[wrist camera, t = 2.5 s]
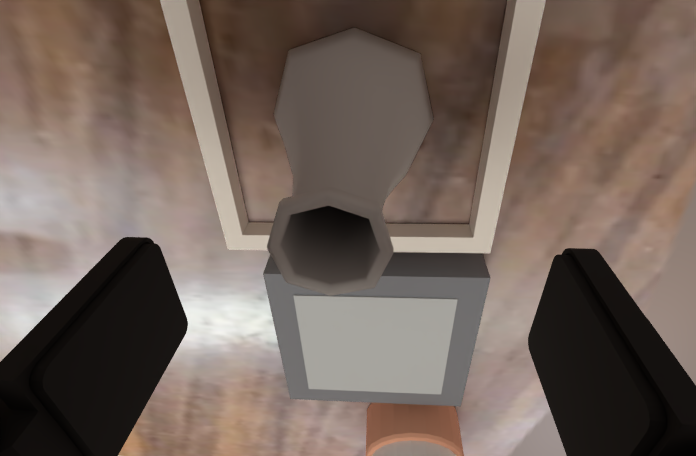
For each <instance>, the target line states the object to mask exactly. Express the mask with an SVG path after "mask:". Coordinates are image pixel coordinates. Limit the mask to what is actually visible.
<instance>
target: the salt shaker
mask: <svg viewBox="0 0 696 456" xmlns="http://www.w3.org/2000/svg"><path fill="white" fill-rule="evenodd" d="M366 456H464V454H463V447H462V441H461V435H460V429H459V423H458V417H457V413H456V410H455V407H454V406H440V405H417V404H395V403H371V404H370V406H369V407H368V409H367V434H366Z"/></svg>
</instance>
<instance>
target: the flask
mask: <svg viewBox="0 0 696 456" xmlns="http://www.w3.org/2000/svg"><path fill="white" fill-rule="evenodd" d="M274 117H275V120H276V123H277V126H278V129H279V131H280V134H281V137H282V139H283V142H284V145H285V149H286V152H287V156H288V160H289V163H290V167H291V170H292V174H293V195H292V197H288V198H284V199H282V200H281V201H280V202H279V205H278V209H277V212H276V216H275V219H274V223H273V226H272V230H271V233H270V237H269V240H268V244H267V249H268V250H269V252H270V254H271V256H272V258H273V260H274V261H275V263H276V265H277V267H278V269H279V271H280V272H281V274H282V276H283V278H284V280H285V282H286V283H289V284H292V285H296V286H299V287H303V288H306V289H309V290H313V291H316V292H319V293H323V294H326V295H329V296H332V295H337V294H343V293H348V292H354V291H359V290H365V289H371V288H375V286H376V285H377V283H378V281H379V279H380V277H381V275H382V274H383V272H384V270H385V268H386V266H387V264H388V263H389V261H390V259H391V257H392V255H393V250H394V248H393V245H392V242H391V238H390V235H389V232H388V229H387V226H386V223H385V220H384V216H383V213H382V208H383V205H384V202H385V200H386V198H387V197H388V195H389V194H390V193H391V191H392V190H393V189H394V188H395V187H396V186H397V185H398V183H399V182H400V181H401V180H402V179H403V178H404V177H405V175H406V174H407V173H408V170H409V168H410V166H411V164H412V162H413V160H414V158H415V156H416V154H417V152H418V150H419V148H420V146H421V144H422V142H423V140H424V138H425V136H426V134H427V132H428V130H429V128H430V126H431V124H432V122H433V120H434V119H433V114H432V109H431V104H430V99H429V94H428V89H427V84H426V79H425V74H424V69H423V64H422V59H421V54H420V53H418V52H415V51H413V50H410V49H408V48H405V47H403V46H400V45H398V44H395V43H392V42H390V41H387V40H385V39H382V38H380V37H377V36H375V35H372V34H370V33H367V32H365V31H362V30H360V29H357V28H355V27H354V28H351V29H348V30H345V31H342V32H340V33H337V34H334V35H331V36H328V37H325V38H322V39H319V40H316V41H313V42H311V43H308V44H305V45H302V46H299V47H296V48H293V49H290V50H289V51H288V55H287V59H286V63H285V68H284V72H283V76H282V80H281V84H280V89H279V93H278V97H277V101H276V105H275V110H274Z"/></svg>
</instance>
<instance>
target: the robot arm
mask: <svg viewBox="0 0 696 456" xmlns="http://www.w3.org/2000/svg"><path fill="white" fill-rule="evenodd" d="M187 326H188V321H187V318H186V315H185V312H184V310H183V307H182V304H181V302H180V299H179V296H178V294H177V291H176V288H175V286H174V283H173V280H172V278H171V275H170V272H169V270H168V267H167V264H166V262H165V259H164V256H163V254H162V251H161V249H160V247H159V246H158V245H157V244H154V242H153V241H152V240H151V239H150V238H140V237H125V238H122V239H121V240H120V241H119V242H118V243H117V244H116V245H115V246H114V247H113V248H112V249H111V250H110V251H109V252H108V253H107V254H106V255H105V256H104V257H103V258H102V259H101V260H100V261H99V262H98V263H97V264H96V265H95V266H94V267H93V268H92V269H91V270H90V271H89V272H88V273H87V274H86V275H85V276H84V277H83V278H82V279H81V280H80V281H79V282H78V283H77V284H76V286H75V287H74V288H73V289H72V290H71V291H70V292H69V293H68V294H67V295H66V296H65V297H64V298H63V299H62V300H61V301H60V302H59V303H58V304H57V305H56V306H55V307H54V308H53V309H52V310H51V311H50V312H49V313H48V314H47V315H46V316H45V317H44V318H43V319H42V320H41V321H40V322H39V323H38V324H37V325H36V326H35V327H34V328H33V329H32V330H31V331H30V332H29V333H28V334H27V335H26V336H25V337H24V338H23V339H22V340H21V341H20V342H19V344H18V345H17V346H16V347H15V348H14V349H13V350H12V351H11V352H10V353H9V354H8V355H7V356H6V357H5V358H4V359H3V360H2V361H1V362H0V456H118V454H119V452H120V451H121V449H122V447H123V445H124V443H125V442H126V440H127V438H128V436H129V434H130V433H131V431H132V429H133V427H134V426H135V424H136V422H137V420H138V418H139V417H140V415H141V413H142V411H143V409H144V408H145V406H146V404H147V402H148V400H149V399H150V397H151V395H152V393H153V391H154V390H155V388H156V386H157V384H158V382H159V381H160V379H161V377H162V375H163V373H164V372H165V370H166V368H167V366H168V364H169V363H170V361H171V359H172V357H173V355H174V354H175V352H176V350H177V348H178V347H179V345H180V343H181V341H182V339H183V338H184V336H185V334H186V331H187ZM528 345H529V351H530V354H531V356H532V359H533V362H534V365H535V368H536V371H537V373H538V376H539V379H540V382H541V385H542V387H543V390H544V393H545V396H546V399H547V401H548V404H549V407H550V410H551V413H552V415H553V418H554V421H555V424H556V427H557V429H558V432H559V435H560V438H561V441H562V443H563V446H564V449H565V452H566V455H567V456H696V385H695V384H694V383H693V381H692V380H691V378H690V377H689V376H688V375H687V373H686V371H685V370H684V369H683V367H682V366H681V365H680V363H679V362H678V360H677V359H676V358H675V356H674V355H673V353H672V352H671V351H670V349H669V348H668V346H667V345H666V344H665V342H664V341H663V340H662V338H661V337H660V335H659V334H658V333H657V331H656V330H655V328H654V327H653V326H652V324H651V323H650V322H649V320H648V319H647V318H646V317H645V315H644V314H643V313H642V311H641V310H640V308H639V307H638V306H637V304H636V303H635V302H634V300H633V299H632V297H631V296H630V295H629V293H628V292H627V290H626V289H625V288H624V286H623V285H622V283H621V282H620V281H619V279H618V278H617V277H616V275H615V274H614V272H613V271H612V270H611V268H610V267H609V265H608V264H607V263H606V261H605V260H604V258H603V257H602V256H601V254H600V253H599V252H598V251H597V250H595V249H575V248H568V249H565V250H564V251H563V253H562V255H556V256H555V257H554V259H553V262H552V265H551V268H550V271H549V275H548V278H547V281H546V284H545V287H544V290H543V293H542V296H541V299H540V302H539V305H538V308H537V312H536V315H535V318H534V321H533V324H532V327H531V330H530V333H529V337H528Z"/></svg>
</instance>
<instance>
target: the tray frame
mask: <svg viewBox="0 0 696 456" xmlns="http://www.w3.org/2000/svg"><path fill="white" fill-rule="evenodd" d="M160 2H161V6H162V9H163V13H164V17H165V20H166V24H167V28H168V31H169V35H170V39H171V42H172V46H173V50H174V53H175V57H176V61H177V64H178V68H179V72H180V75H181V79H182V83H183V86H184V90H185V94H186V97H187V101H188V105H189V108H190V112H191V116H192V119H193V123H194V127H195V130H196V134H197V138H198V141H199V145H200V149H201V152H202V156H203V160H204V163H205V167H206V171H207V174H208V178H209V182H210V185H211V189H212V193H213V196H214V200H215V204H216V207H217V211H218V215H219V218H220V222H221V226H222V229H223V233H224V237H225V240H226V244H227V248H228V250H268V249H267V244H268V240H269V237H270V233H271V230H272V226H273V223H266V222H248V217H247V213H246V209H245V204H244V200H243V195H242V191H241V186H240V182H239V177H238V173H237V168H236V164H235V159H234V155H233V150H232V146H231V141H230V137H229V132H228V128H227V123H226V119H225V114H224V110H223V105H222V101H221V96H220V92H219V88H218V83H217V79H216V74H215V70H214V65H213V61H212V56H211V52H210V47H209V43H208V38H207V34H206V29H205V25H204V20H203V16H202V11H201V7H200V2H199V0H160ZM545 2H546V0H507V5H506V11H505V17H504V22H503V28H502V34H501V40H500V46H499V52H498V58H497V63H496V69H495V75H494V81H493V87H492V93H491V99H490V104H489V110H488V116H487V122H486V128H485V134H484V140H483V145H482V151H481V157H480V163H479V169H478V175H477V181H476V186H475V192H474V198H473V204H472V210H471V216H470V222H469V224H386V226H387V229H388V232H389V235H390V238H391V242H392V245H393V248H394V250H393V252H430V253H490V252H491V247H492V243H493V238H494V234H495V229H496V225H497V220H498V216H499V211H500V206H501V202H502V197H503V193H504V188H505V184H506V179H507V175H508V170H509V166H510V161H511V156H512V152H513V147H514V143H515V138H516V134H517V129H518V125H519V120H520V116H521V111H522V106H523V102H524V97H525V93H526V88H527V84H528V79H529V75H530V70H531V66H532V61H533V56H534V52H535V47H536V43H537V38H538V34H539V29H540V25H541V20H542V16H543V11H544V6H545Z"/></svg>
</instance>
